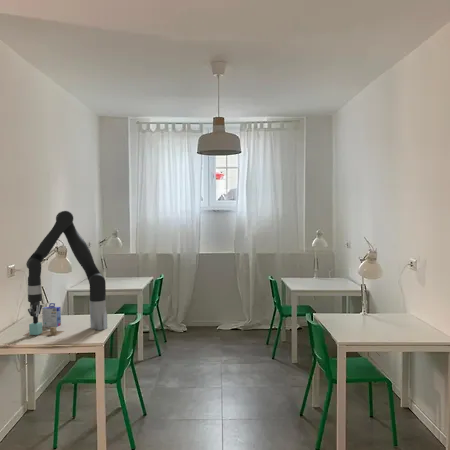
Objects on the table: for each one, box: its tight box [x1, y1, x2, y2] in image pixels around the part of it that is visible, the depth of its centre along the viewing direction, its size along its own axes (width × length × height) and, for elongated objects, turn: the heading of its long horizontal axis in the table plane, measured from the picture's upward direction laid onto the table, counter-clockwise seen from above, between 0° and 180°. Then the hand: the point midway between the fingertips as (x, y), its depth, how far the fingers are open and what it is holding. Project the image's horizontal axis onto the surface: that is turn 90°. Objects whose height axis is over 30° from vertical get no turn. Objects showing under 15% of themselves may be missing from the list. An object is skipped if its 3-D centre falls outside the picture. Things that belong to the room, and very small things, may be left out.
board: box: [22, 330, 65, 337], centre depth 298 cm, size 20×11×1 cm, turn 83°
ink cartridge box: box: [41, 302, 62, 328], centre depth 316 cm, size 10×6×14 cm, turn 81°
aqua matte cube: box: [28, 321, 43, 335], centre depth 295 cm, size 5×5×6 cm
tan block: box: [49, 327, 58, 335], centre depth 294 cm, size 3×3×4 cm
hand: (35, 322), depth 295 cm, fingers closed
